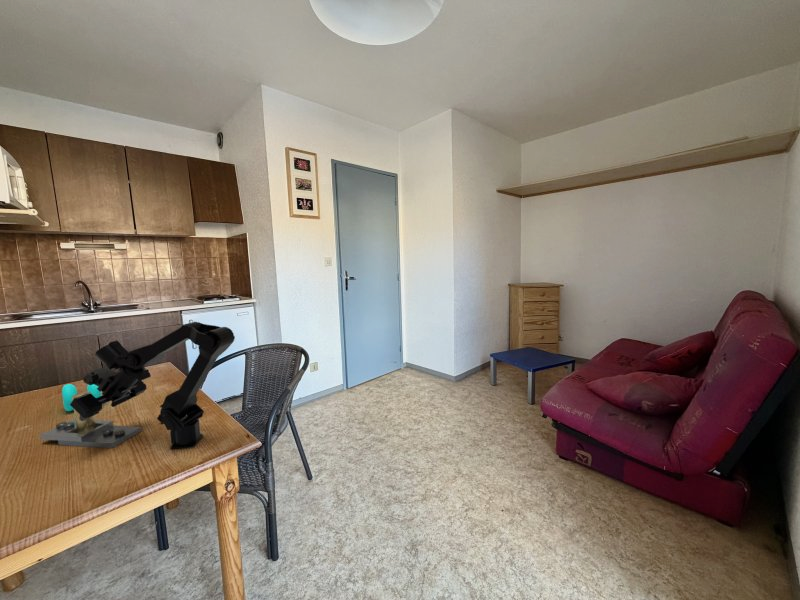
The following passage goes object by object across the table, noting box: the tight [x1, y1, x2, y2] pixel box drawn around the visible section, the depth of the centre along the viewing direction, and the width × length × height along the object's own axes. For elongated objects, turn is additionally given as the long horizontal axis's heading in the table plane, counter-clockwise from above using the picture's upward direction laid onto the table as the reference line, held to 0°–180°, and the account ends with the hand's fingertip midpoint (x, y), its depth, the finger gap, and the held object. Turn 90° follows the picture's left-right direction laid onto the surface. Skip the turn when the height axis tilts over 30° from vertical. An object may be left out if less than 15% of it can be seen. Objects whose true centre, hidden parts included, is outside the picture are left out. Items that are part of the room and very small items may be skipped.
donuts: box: [61, 383, 102, 412], centre depth 120 cm, size 10×10×10 cm
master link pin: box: [72, 391, 96, 434], centre depth 99 cm, size 4×4×14 cm
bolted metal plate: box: [39, 418, 142, 449], centre depth 99 cm, size 24×10×4 cm, turn 84°
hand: (97, 412), depth 98 cm, fingers open, 9 cm apart
